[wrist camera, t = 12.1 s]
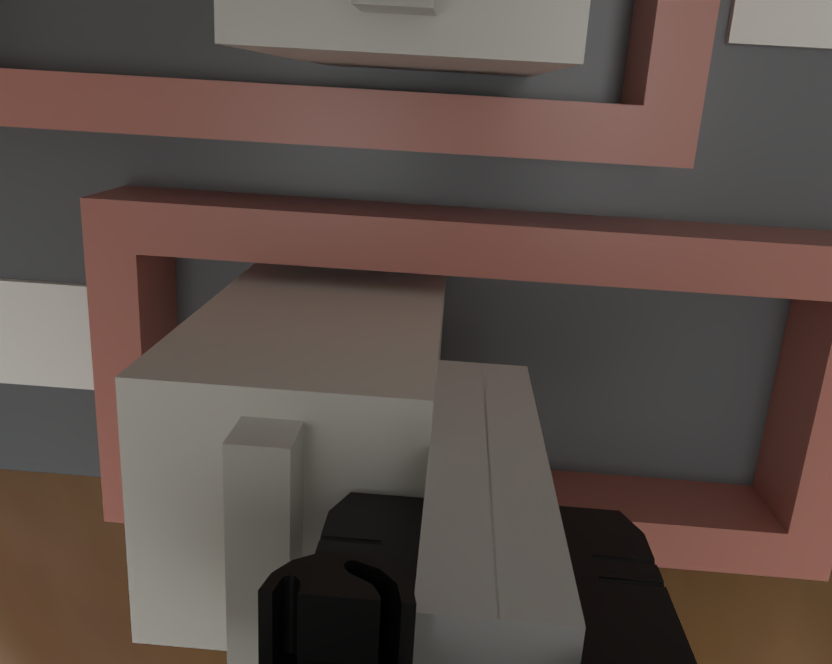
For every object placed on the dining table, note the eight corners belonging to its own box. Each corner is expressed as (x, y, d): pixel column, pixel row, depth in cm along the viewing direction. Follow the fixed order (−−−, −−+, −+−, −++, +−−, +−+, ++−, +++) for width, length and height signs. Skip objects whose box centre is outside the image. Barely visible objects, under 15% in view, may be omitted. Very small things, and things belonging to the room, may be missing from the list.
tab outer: (257, 260, 16) (84, 402, 9) (446, 273, 16) (431, 428, 9) (259, 433, 18) (106, 683, 10) (434, 446, 17) (411, 712, 10)
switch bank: (-167, -243, 16) (-366, -349, 12) (1032, -193, 15) (1228, -291, 11) (-70, 424, 20) (-193, 500, 17) (856, 496, 19) (953, 595, 16)
